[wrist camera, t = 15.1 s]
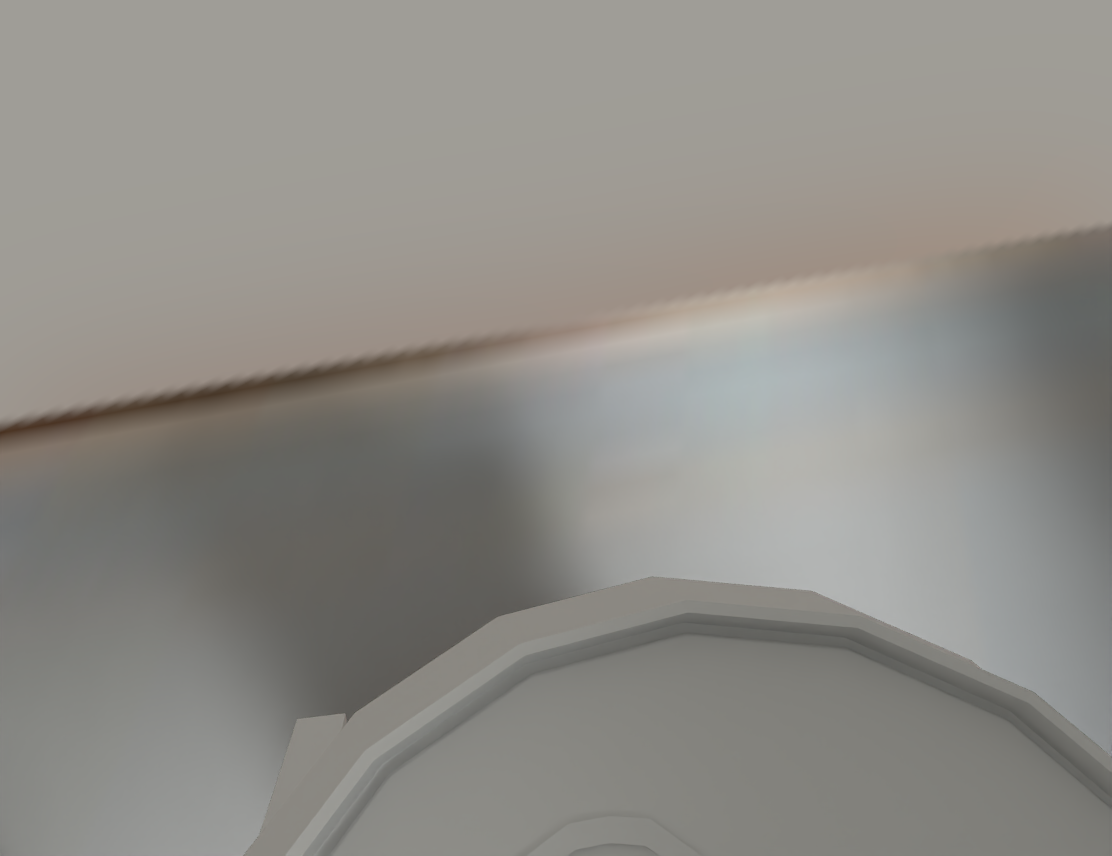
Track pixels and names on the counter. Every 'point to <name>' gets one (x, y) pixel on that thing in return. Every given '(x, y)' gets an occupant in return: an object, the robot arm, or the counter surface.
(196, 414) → the counter surface
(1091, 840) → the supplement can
